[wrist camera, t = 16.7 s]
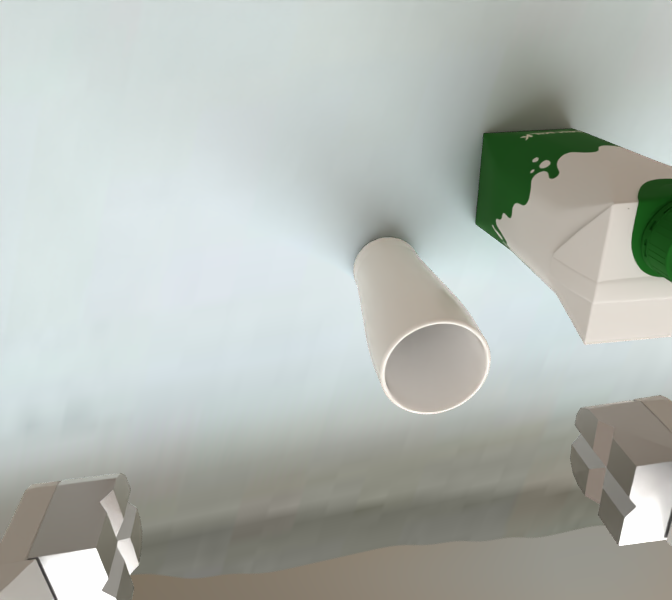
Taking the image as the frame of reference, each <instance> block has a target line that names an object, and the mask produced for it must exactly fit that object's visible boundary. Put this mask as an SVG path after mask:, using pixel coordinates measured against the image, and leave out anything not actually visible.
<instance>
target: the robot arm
mask: <svg viewBox="0 0 672 600" xmlns="http://www.w3.org/2000/svg"><path fill="white" fill-rule="evenodd" d="M575 426H576V428H577V429H578V430H579V432H580V433H581V434H580V435H579V437H578V438H577V439H576V440H575V441H574V442H573V443H572V446H571V456H570V460H571V466H572V471H573V475H574V477H575V479H576V482H577V484H578V486H579V487H580V489H581V490H582V492H583V494H584V495H585V496H586V497H588V498H590V499H592V500H594V501H595V502H597V503H599V504H600V505H599V511H598V516H599V518H600V519H601V521H602V522H603V523H604V525H605V526H606V528H607V529H608V531H609V532H610V534H611V535H612V537H613V538H614V540H615V541H616V543H617V544H618V545H627V544H635V543H643V542H651V541H658V540H665V539H667V541H666V542H667V543H669V544H670V545H671V546H672V401H670V400H669V399H668V398H666V397H664V396H661V395H658V396H651V397H645V398H639V399H634V400H629V401H622V402H616V403H609V404H602V405H596V406H589V407H582V408H580V410H579V411H578V413H577V415H576V420H575ZM130 491H131V488H130V485H129V483H128V480H127V477H126V475H124V474H122V473H117V474H108V475H100V476H91V477H83V478H74V479H66V480H62V481H54V482H46V483H37V484H32V485H31V486H30V487H29V488H27V489H26V491H25V492H24V494H23V496H22V498H21V500H20V503H19V505H18V507H17V509H16V511H15V513H14V515H13V517H12V519H11V521H10V524H9V526H8V528H7V530H6V532H5V534H4V536H3V538H2V540H1V543H0V600H132V596H133V591H134V586H133V583H132V581H131V577H130V574H131V573H132V571H133V570H134V569H135V568H136V567H137V566H138V565H139V562H140V556H141V551H142V527H141V520H140V516H139V513H138V509H137V508H136V507H135V506H133V505H132V504H130V503H129V502H128V499H129V495H130Z"/></svg>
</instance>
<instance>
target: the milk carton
mask: <svg viewBox="0 0 672 600" xmlns="http://www.w3.org/2000/svg"><path fill="white" fill-rule="evenodd" d="M476 225H478V226H479V227H480V228H482V229H483V230H484V231H486V232H487V233H488V234H490V235H491V236H492V237H494V238H495V239H496V240H498V241H499V242H500V243H502V244H503V245H504V246H506V247H507V248H508V249H510V250H511V251H512V252H513V253H514V254H515V255H516V256H517V257H518V258H519V259H520V260H521V261H522V262H524V263H525V264H526V265H527V266H528V267H529V268H530V269H531V270H532V271H533V272H534V273H535V274H536V275H537V276H538V277H539V278H540V279H541V280H542V281H543V282H544V283H545V284H546V285H547V286H548V287H549V288H550V289H551V290H552V291H553V292H555V293H556V295H557V296H558V298H559V300H560V302H561V303H562V305H563V307H564V309H565V310H566V312H567V314H568V316H569V318H570V319H571V321H572V323H573V325H574V327H575V328H576V330H577V332H578V334H579V336H580V337H581V339H582V341H583V343H584V345H587V344H598V343H609V342H619V341H630V340H641V339H651V338H662V337H672V166H669V165H666V164H663V163H661V162H658V161H655V160H653V159H650V158H648V157H645V156H643V155H640V154H638V153H635V152H633V151H630V150H628V149H625V148H623V147H620V146H617V145H615V144H612V143H610V142H607V141H605V140H602V139H600V138H597V137H595V136H592V135H590V134H587V133H585V132H582V131H578V130H575V129H555V130H536V131H518V132H499V133H484V134H483V145H482V157H481V168H480V179H479V190H478V201H477V212H476Z"/></svg>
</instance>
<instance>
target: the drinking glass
mask: <svg viewBox="0 0 672 600" xmlns="http://www.w3.org/2000/svg"><path fill="white" fill-rule="evenodd" d="M353 274H354V279H355V282H356V285H357V289H358V294H359V300H360V305H361V311H362V317H363V323H364V329H365V335H366V341H367V346H368V350H369V353H370V357H371V360H372V363H373V366H374V369H375V371H376V374H377V376H378V379H379V381H380V383H381V386H382V388H383V390H384V392H385V394H386V395H387V397H388V398H389V399H390V400H391V401H392V402H393V403H394V404H395V405H397V406H398V407H400V408H402V409H404V410H406V411H409V412H413V413H418V414H435V413H441V412H445V411H448V410H451V409H453V408H455V407H458V406H459V405H461V404H463V403H464V402H466V401H467V400H468V399H470V398H471V397H472V396H473V395H474V394H475V393H476V392H477V391H478V390H479V389H480V387H481V386H482V384H483V383H484V381H485V379H486V377H487V375H488V372H489V368H490V361H491V356H490V349H489V346H488V343H487V341H486V339H485V338H484V336H483V334H482V333H481V331H480V329H479V327H478V326H477V324H476V322H475V321H474V319H473V318H472V316H471V315H470V313H469V312H468V310H467V309H466V308H465V306H464V305H463V304H462V303H461V301H460V300H459V299H458V298H457V297H456V296H455V295H454V294H453V292H452V291H451V290H450V289H449V288H448V287H447V286H446V285H445V284H444V283H443V282H442V281H441V280H440V279H439V278H438V277H437V276H436V275H435V274H434V272H433V271H432V270H431V269H430V268H429V267H428V266H427V265H426V264H425V263H424V262H423V261H422V260H421V258H420V257H419V256H418V254H417V253H416V251H415V250H414V249H413V248H412V247H411V246H410V245H409V244H408V243H407V242H405V241H403V240H401V239H398V238H394V237H384V238H379V239H376V240H374V241H372V242H370V243H368V244H367V245H366V246H365V247H363V248H362V250H361V251H360V252H359V254H358V255H357V257H356V259H355V262H354V267H353Z"/></svg>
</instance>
